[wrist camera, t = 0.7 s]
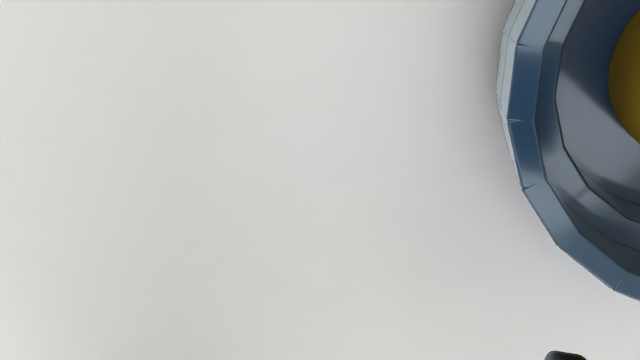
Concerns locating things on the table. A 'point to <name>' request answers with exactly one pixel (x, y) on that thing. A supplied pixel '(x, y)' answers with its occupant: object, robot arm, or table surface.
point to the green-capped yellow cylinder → (627, 78)
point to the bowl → (573, 132)
